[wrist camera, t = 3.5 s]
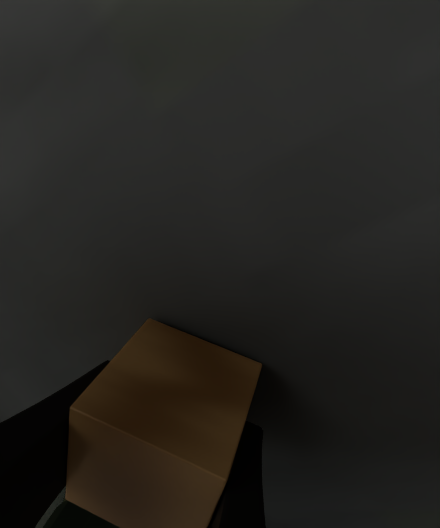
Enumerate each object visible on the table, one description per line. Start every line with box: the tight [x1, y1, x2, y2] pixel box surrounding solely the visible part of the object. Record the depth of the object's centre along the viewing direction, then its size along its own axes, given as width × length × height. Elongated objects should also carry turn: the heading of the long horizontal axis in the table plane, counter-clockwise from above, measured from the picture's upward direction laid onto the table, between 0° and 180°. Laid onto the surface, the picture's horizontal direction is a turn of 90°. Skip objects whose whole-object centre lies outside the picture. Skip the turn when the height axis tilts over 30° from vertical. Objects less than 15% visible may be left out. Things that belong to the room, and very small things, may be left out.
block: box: [65, 318, 262, 528], centre depth 11 cm, size 4×4×4 cm
